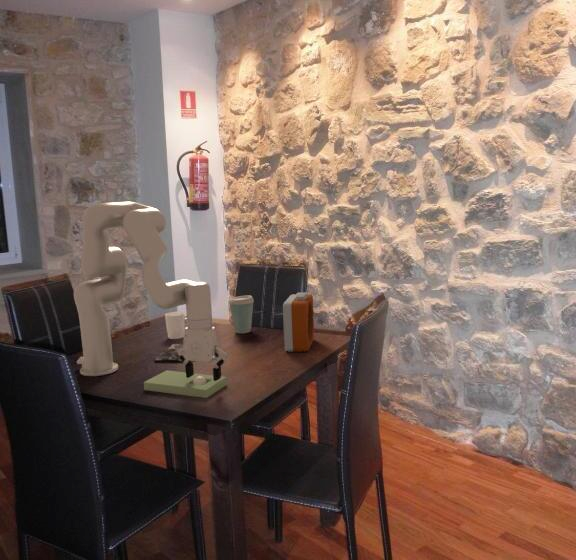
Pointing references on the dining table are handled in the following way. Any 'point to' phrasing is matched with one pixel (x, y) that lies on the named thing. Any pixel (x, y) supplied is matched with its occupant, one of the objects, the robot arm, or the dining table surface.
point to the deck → (184, 384)
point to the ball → (199, 380)
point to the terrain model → (170, 355)
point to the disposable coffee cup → (242, 313)
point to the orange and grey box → (298, 322)
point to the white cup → (175, 325)
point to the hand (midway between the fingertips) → (203, 378)
